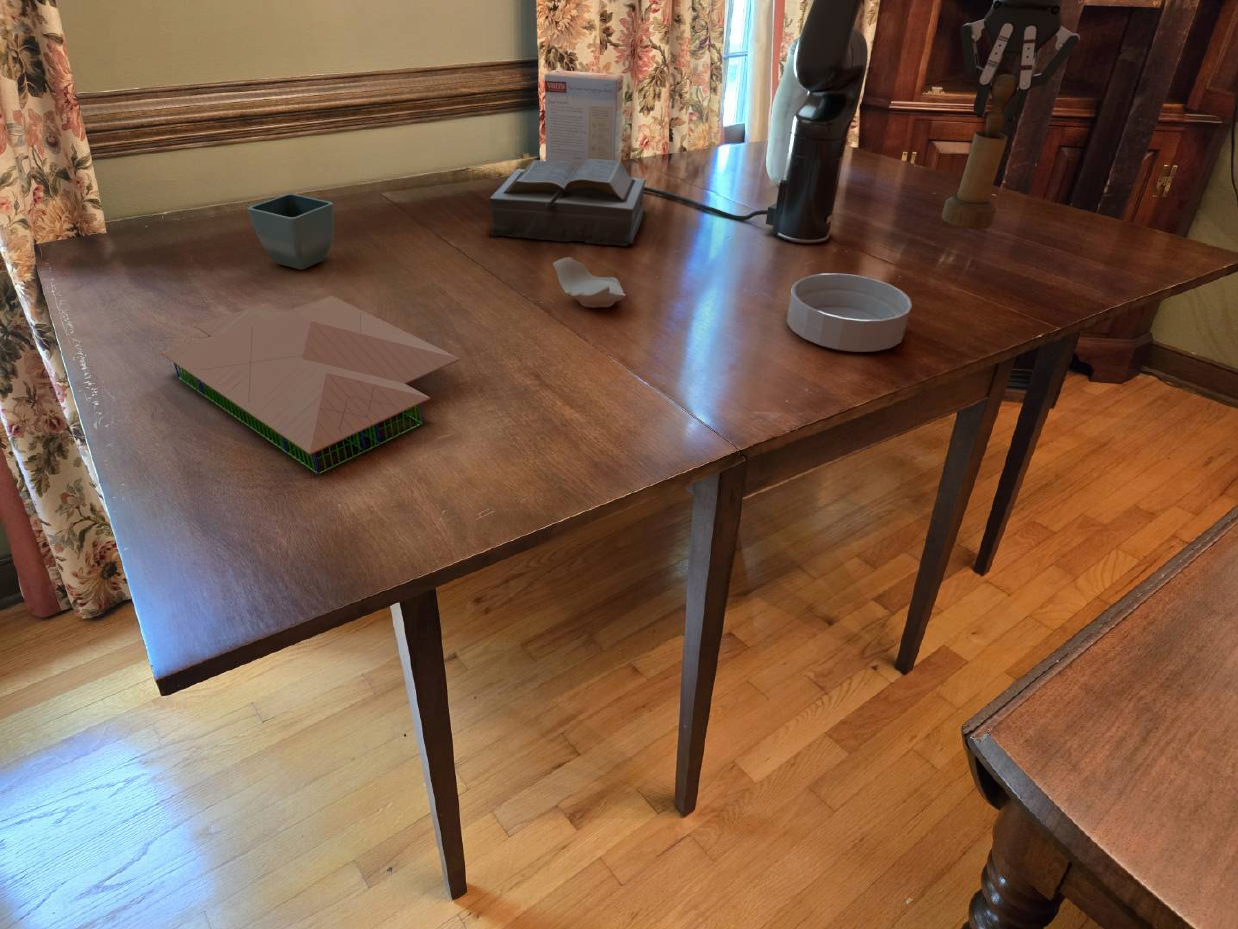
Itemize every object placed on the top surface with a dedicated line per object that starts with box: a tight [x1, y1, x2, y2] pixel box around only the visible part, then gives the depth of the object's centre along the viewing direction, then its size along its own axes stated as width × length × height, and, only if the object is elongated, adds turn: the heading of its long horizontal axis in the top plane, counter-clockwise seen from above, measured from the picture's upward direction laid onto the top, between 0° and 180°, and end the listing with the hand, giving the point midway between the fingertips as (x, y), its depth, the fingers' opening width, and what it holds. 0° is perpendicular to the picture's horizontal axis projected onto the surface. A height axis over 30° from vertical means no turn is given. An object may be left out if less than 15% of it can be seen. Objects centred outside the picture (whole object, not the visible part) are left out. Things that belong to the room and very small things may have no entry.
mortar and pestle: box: [941, 74, 1019, 230], centre depth 105 cm, size 7×6×18 cm
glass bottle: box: [765, 36, 808, 186], centre depth 163 cm, size 10×10×28 cm
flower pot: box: [247, 193, 334, 271], centre depth 125 cm, size 9×9×9 cm
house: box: [160, 295, 461, 475], centre depth 95 cm, size 23×33×8 cm
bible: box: [489, 159, 647, 247], centre depth 144 cm, size 23×27×10 cm
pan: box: [786, 272, 913, 353], centre depth 114 cm, size 16×16×5 cm
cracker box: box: [544, 69, 624, 166], centre depth 159 cm, size 14×6×21 cm, turn 77°
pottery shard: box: [552, 256, 627, 309], centre depth 118 cm, size 10×11×5 cm
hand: (995, 117), depth 103 cm, fingers closed on mortar and pestle, 3 cm apart
